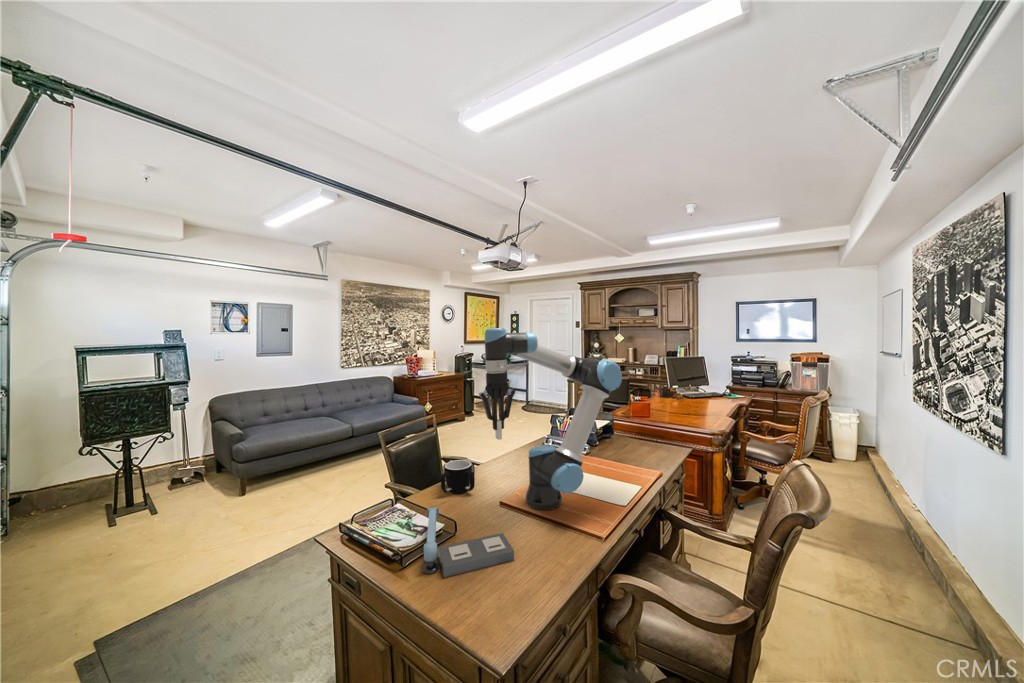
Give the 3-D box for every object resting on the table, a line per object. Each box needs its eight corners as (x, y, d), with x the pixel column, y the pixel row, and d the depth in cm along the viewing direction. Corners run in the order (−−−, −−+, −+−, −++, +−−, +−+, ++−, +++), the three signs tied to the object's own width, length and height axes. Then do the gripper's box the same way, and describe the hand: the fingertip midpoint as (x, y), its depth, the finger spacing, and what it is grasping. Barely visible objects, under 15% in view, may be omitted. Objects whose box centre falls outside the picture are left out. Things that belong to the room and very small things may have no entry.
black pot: (474, 498, 158) (473, 470, 157) (437, 498, 158) (436, 471, 157) (478, 482, 174) (477, 457, 173) (444, 483, 174) (444, 458, 174)
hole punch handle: (437, 560, 109) (436, 548, 109) (423, 562, 108) (423, 549, 108) (438, 515, 136) (438, 505, 136) (427, 517, 135) (427, 507, 135)
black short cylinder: (438, 562, 114) (437, 551, 114) (440, 572, 109) (440, 560, 109) (421, 566, 112) (421, 555, 112) (423, 576, 108) (423, 564, 108)
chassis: (503, 541, 125) (502, 531, 124) (514, 560, 114) (513, 549, 114) (438, 556, 117) (437, 546, 117) (443, 577, 107) (443, 566, 107)
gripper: (481, 374, 122) (483, 443, 123) (517, 371, 126) (519, 438, 127) (475, 372, 129) (478, 438, 130) (510, 369, 133) (512, 433, 134)
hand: (498, 438), depth 128 cm, fingers closed
